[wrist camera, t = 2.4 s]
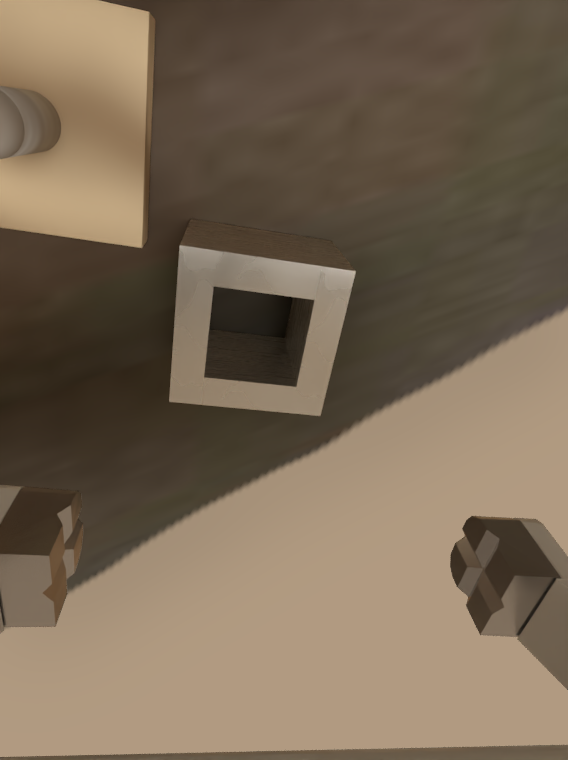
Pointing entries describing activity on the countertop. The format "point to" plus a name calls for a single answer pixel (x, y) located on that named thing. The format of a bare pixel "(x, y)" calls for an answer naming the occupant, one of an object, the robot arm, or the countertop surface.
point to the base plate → (76, 119)
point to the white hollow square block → (249, 351)
